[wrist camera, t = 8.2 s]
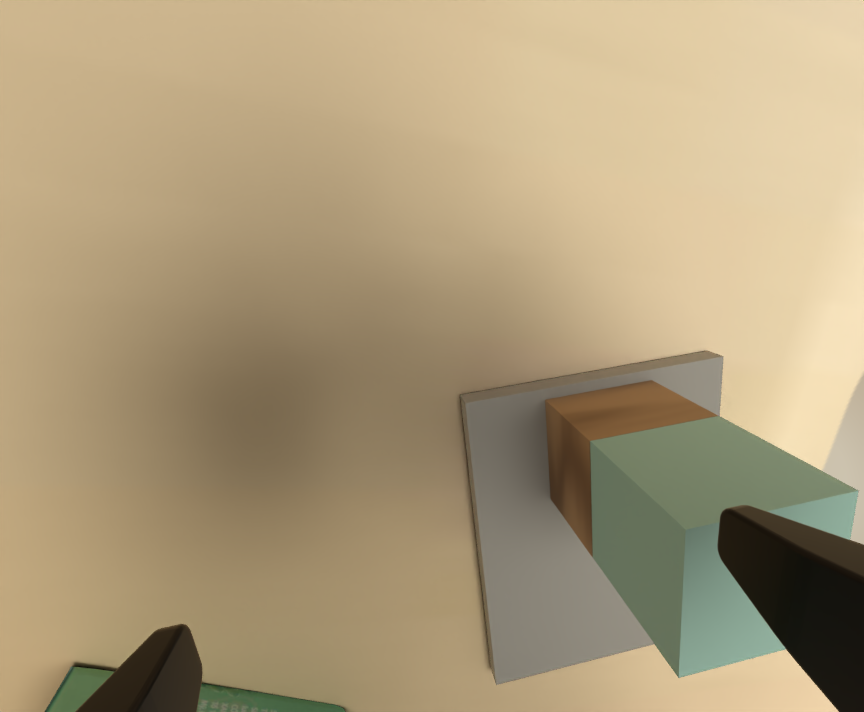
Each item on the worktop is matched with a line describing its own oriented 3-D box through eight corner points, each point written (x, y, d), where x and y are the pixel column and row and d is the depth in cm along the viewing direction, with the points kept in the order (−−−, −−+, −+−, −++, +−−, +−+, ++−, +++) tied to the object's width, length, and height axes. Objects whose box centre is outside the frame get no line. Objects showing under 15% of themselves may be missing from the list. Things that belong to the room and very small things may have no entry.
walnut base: (649, 477, 22) (710, 530, 19) (550, 498, 22) (592, 557, 18) (651, 380, 21) (717, 415, 17) (544, 399, 20) (589, 440, 17)
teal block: (710, 530, 19) (833, 636, 14) (592, 557, 18) (678, 677, 13) (718, 415, 17) (858, 490, 12) (590, 440, 17) (686, 529, 12)
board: (693, 616, 27) (705, 631, 26) (490, 667, 25) (496, 684, 25) (707, 350, 22) (723, 356, 21) (460, 394, 21) (465, 403, 20)
